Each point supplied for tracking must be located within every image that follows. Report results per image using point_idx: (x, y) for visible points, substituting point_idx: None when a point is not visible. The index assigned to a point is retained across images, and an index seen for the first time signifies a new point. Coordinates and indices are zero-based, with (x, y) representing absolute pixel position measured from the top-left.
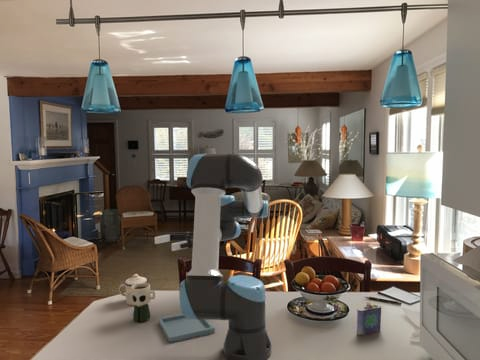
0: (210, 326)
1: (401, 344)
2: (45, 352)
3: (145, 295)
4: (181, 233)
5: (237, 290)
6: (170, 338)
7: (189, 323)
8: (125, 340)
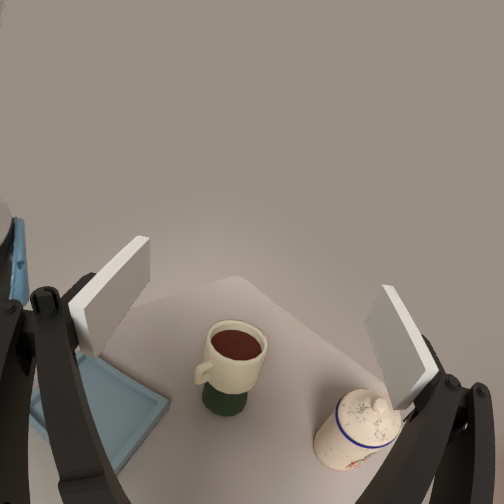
0: None
1: None
2: (239, 278)
3: (203, 349)
4: (465, 498)
5: None
6: None
7: None
8: (170, 333)
